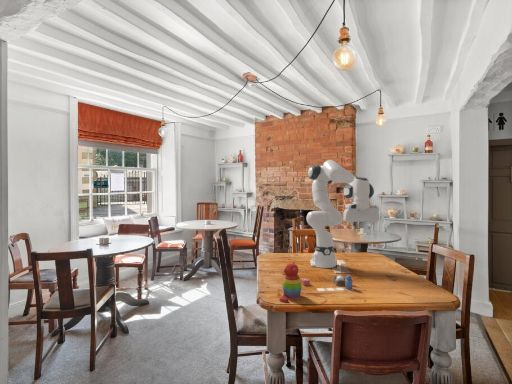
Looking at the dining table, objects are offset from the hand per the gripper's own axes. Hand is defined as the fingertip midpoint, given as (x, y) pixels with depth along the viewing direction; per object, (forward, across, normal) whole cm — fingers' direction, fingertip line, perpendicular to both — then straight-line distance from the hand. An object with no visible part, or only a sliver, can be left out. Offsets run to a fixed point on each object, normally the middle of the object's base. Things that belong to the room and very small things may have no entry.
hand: (361, 229), depth 170 cm
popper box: (+31, +14, +4) cm, 34 cm away
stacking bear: (+31, +45, +21) cm, 59 cm away
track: (+31, +20, +13) cm, 39 cm away
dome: (+30, +14, +4) cm, 33 cm away
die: (+31, +34, +4) cm, 46 cm away
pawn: (+30, +12, +13) cm, 35 cm away
